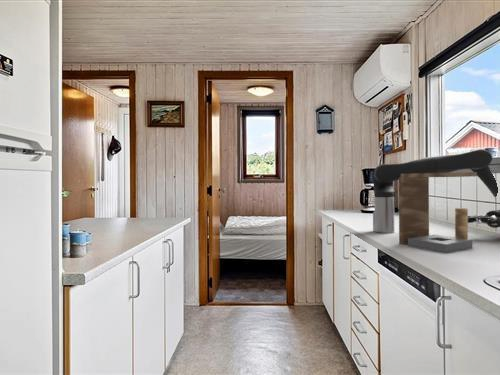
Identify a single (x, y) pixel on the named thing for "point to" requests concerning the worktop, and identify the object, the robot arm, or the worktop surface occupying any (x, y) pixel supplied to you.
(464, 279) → the worktop surface
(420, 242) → the socket plate
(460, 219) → the wooden peg
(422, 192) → the wooden l bracket
